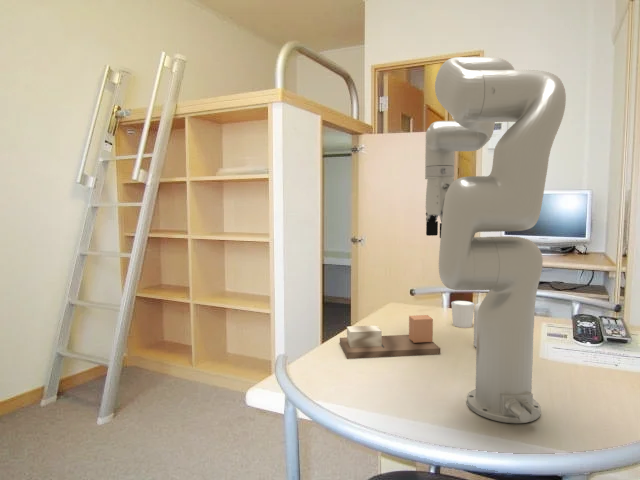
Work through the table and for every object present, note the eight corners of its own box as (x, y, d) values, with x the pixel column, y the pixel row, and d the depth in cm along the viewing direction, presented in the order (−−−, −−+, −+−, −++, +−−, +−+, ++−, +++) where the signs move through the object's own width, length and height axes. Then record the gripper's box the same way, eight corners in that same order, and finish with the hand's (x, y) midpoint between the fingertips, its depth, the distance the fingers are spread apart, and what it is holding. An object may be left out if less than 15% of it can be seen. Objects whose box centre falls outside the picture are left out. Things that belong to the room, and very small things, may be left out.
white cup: (446, 323, 138) (446, 301, 138) (465, 321, 140) (465, 299, 140) (459, 329, 132) (459, 306, 131) (479, 327, 134) (479, 304, 133)
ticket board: (347, 358, 108) (347, 336, 107) (339, 343, 120) (339, 323, 119) (440, 354, 110) (440, 332, 110) (423, 339, 122) (424, 319, 122)
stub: (413, 342, 114) (414, 319, 113) (408, 337, 117) (409, 315, 117) (432, 341, 114) (432, 318, 114) (427, 337, 118) (427, 315, 117)
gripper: (467, 171, 111) (465, 239, 113) (440, 175, 128) (439, 234, 130) (438, 171, 110) (437, 240, 112) (415, 175, 127) (414, 234, 129)
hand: (438, 236), depth 121 cm, fingers open, 9 cm apart
